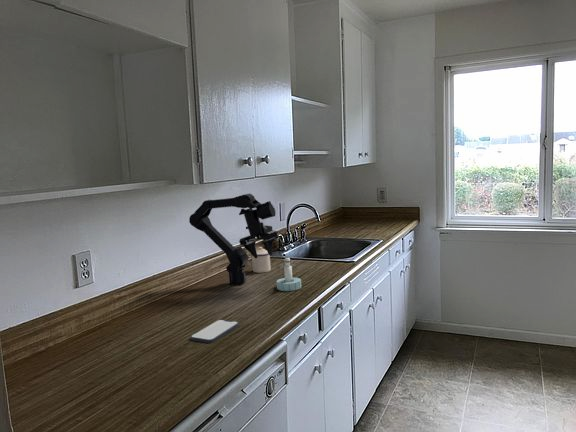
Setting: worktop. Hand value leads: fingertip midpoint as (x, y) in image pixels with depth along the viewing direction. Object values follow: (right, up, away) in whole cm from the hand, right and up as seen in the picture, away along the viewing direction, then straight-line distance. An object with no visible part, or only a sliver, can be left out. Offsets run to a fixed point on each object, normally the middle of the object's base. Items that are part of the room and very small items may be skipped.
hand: (263, 256), depth 206 cm
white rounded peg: (+11, -12, -6) cm, 18 cm away
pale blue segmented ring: (+11, -12, -6) cm, 18 cm away
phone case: (-13, -20, -53) cm, 58 cm away
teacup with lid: (-4, -9, +27) cm, 29 cm away
